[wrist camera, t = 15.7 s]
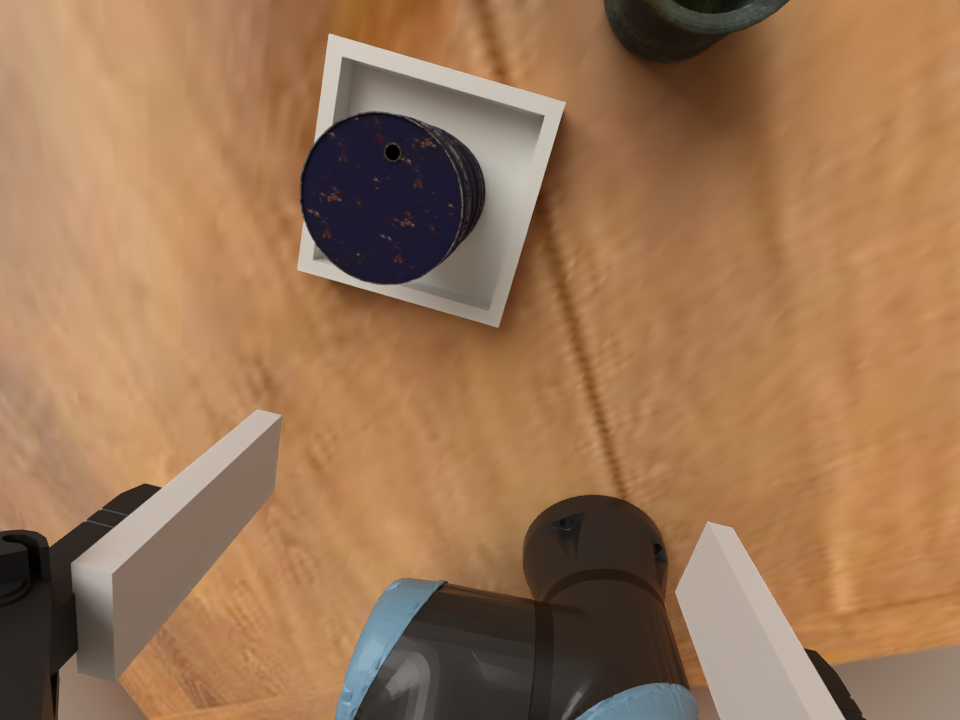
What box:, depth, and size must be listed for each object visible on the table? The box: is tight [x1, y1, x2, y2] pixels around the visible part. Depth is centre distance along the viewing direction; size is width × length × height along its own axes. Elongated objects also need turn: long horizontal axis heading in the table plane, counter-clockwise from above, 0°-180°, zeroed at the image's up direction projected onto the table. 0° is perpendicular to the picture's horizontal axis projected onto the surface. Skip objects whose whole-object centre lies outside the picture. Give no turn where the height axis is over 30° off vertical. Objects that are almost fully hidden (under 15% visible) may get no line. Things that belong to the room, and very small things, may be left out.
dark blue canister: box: [300, 111, 486, 285], centre depth 36 cm, size 10×10×15 cm
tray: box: [297, 34, 566, 328], centre depth 42 cm, size 18×18×4 cm
